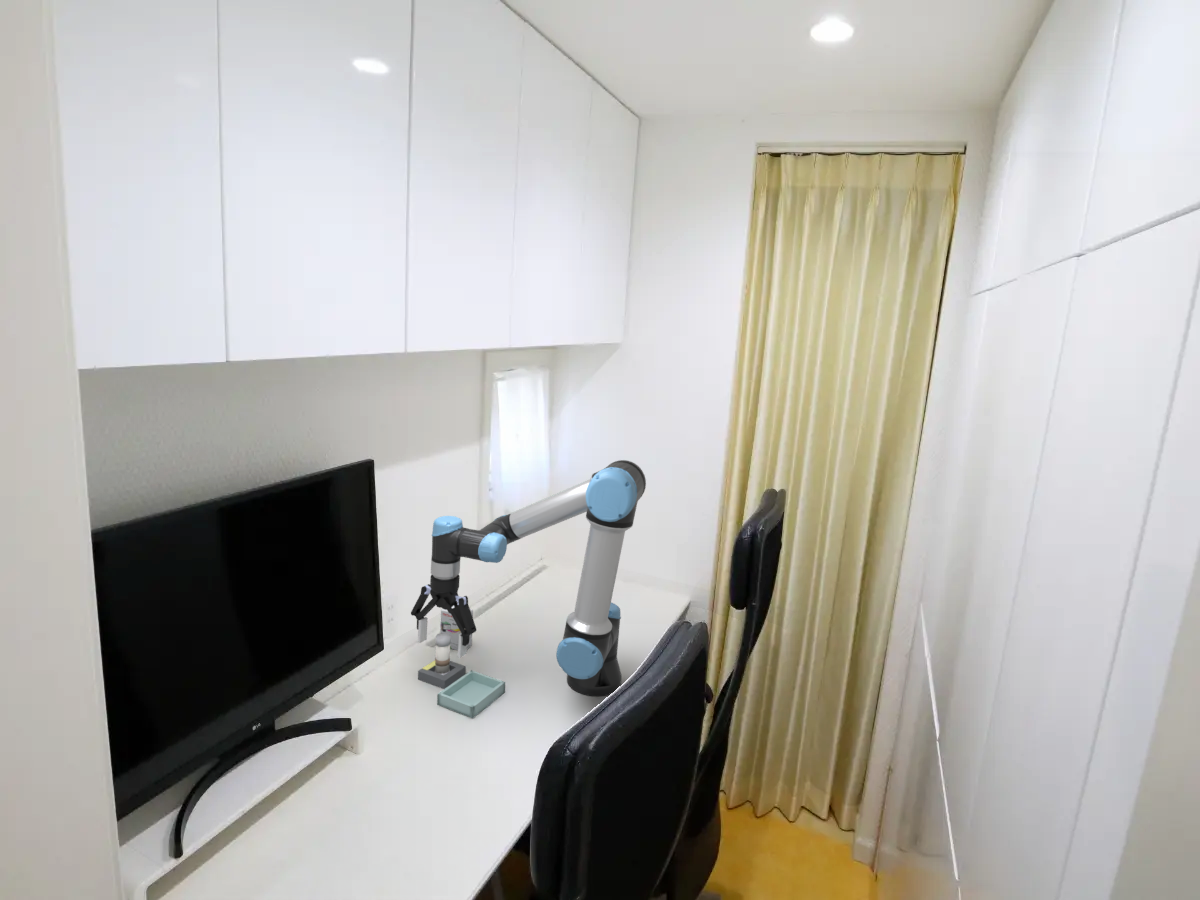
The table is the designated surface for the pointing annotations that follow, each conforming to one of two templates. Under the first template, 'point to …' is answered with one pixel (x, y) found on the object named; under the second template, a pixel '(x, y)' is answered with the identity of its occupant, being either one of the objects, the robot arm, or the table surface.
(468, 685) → the parts tray
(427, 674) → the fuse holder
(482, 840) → the table surface
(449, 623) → the ink box
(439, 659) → the grey-white banded cylinder
